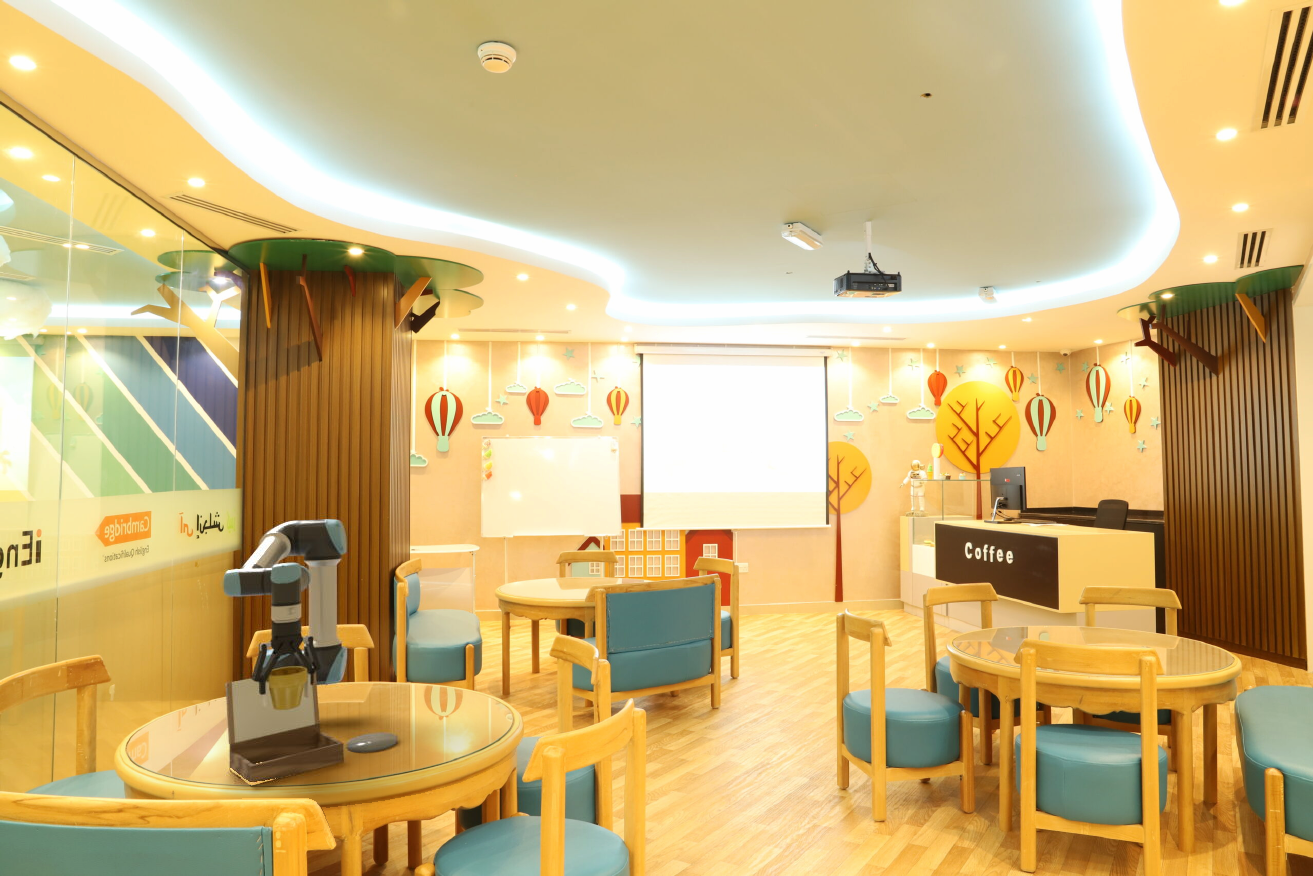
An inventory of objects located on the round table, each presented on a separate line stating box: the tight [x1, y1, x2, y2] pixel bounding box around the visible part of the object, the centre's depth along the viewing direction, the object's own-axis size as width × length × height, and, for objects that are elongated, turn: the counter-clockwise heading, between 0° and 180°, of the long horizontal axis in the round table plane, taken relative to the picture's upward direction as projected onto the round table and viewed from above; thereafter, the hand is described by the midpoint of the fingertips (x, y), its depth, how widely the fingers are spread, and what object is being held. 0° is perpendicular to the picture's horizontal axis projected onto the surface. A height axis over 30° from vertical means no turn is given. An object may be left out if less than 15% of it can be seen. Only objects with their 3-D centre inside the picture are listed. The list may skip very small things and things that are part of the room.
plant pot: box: [266, 666, 307, 710], centre depth 222 cm, size 10×10×10 cm
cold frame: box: [229, 723, 344, 782], centre depth 222 cm, size 17×24×7 cm
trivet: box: [346, 732, 398, 753], centre depth 238 cm, size 14×14×1 cm
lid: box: [225, 671, 321, 745], centre depth 229 cm, size 4×24×16 cm, turn 134°
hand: (287, 701), depth 222 cm, fingers closed on plant pot, 10 cm apart
